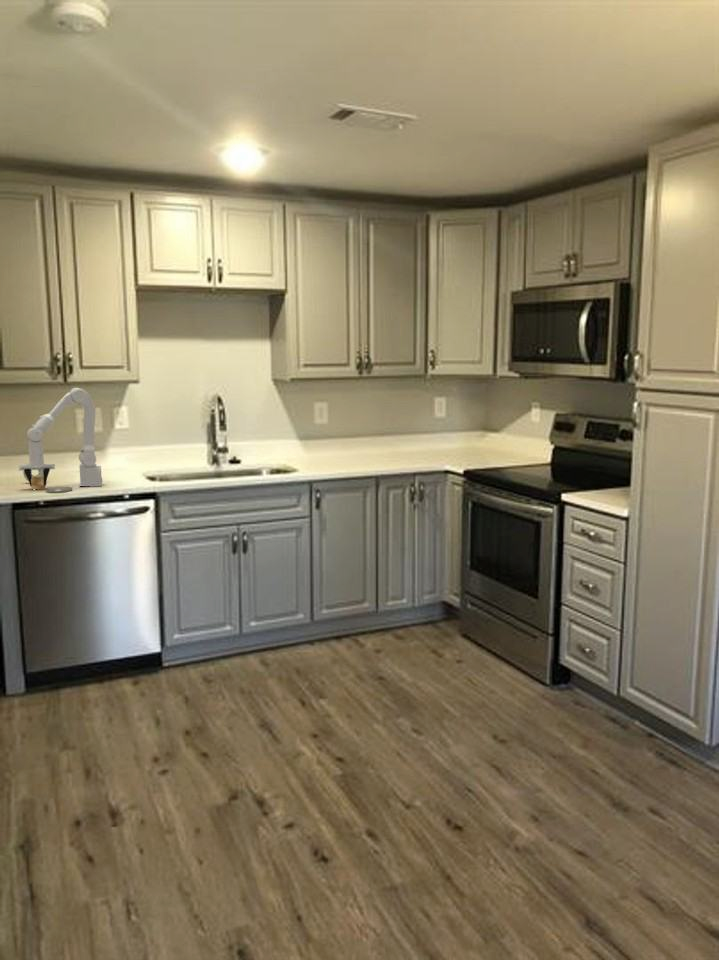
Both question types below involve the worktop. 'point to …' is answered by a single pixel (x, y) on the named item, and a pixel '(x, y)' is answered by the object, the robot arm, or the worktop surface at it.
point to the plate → (58, 489)
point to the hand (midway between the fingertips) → (38, 485)
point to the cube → (37, 483)
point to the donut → (35, 476)
